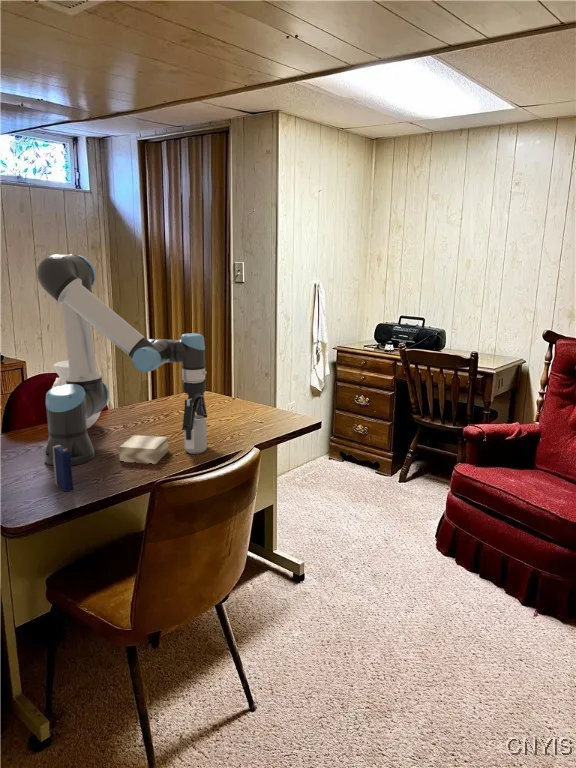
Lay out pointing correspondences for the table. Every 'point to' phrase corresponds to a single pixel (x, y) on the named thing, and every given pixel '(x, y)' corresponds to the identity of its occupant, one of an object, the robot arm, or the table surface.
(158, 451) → the pedestal
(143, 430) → the table surface
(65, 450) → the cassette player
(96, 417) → the pitcher
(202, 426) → the can
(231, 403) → the table surface
